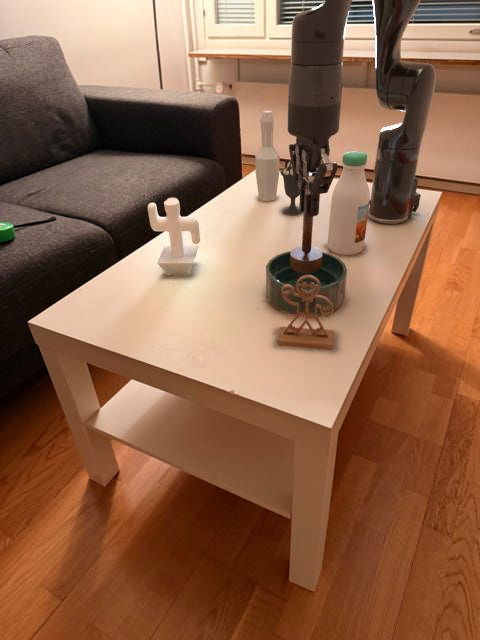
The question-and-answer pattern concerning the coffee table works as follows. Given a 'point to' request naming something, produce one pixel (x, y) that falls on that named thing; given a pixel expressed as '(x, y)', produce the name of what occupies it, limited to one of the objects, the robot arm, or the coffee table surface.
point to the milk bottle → (349, 206)
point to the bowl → (328, 275)
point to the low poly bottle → (267, 161)
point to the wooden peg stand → (306, 249)
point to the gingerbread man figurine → (303, 335)
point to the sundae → (290, 189)
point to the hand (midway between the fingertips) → (308, 212)
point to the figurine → (175, 237)
